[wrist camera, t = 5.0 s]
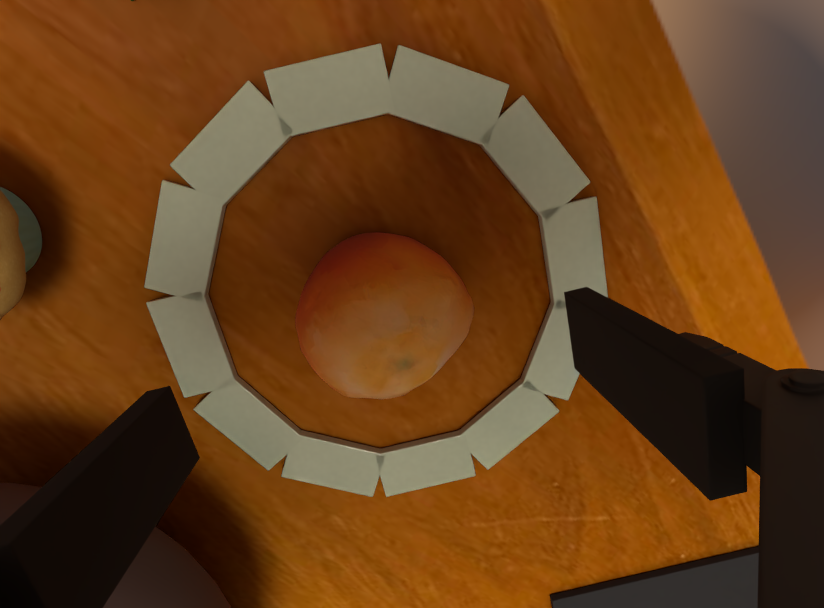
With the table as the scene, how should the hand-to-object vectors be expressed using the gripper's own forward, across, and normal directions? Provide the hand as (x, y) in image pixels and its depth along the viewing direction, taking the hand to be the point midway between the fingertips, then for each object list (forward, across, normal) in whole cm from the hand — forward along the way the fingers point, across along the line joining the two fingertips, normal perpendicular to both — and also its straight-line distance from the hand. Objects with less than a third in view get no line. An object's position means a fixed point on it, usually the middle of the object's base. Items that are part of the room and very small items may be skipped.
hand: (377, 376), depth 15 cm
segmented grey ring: (+10, 0, 0) cm, 10 cm away
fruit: (+10, 0, 0) cm, 11 cm away
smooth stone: (+11, -23, -14) cm, 29 cm away
